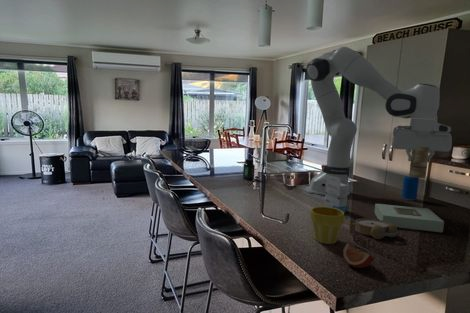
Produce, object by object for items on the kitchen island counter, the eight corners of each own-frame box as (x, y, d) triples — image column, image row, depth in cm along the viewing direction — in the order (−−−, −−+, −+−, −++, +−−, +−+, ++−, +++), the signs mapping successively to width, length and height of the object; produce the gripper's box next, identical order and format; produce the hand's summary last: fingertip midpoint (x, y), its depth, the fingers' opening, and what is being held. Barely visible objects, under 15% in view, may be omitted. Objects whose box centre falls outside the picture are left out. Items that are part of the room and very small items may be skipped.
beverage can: (418, 201, 151) (421, 177, 149) (403, 200, 152) (406, 176, 150) (413, 198, 157) (416, 174, 155) (399, 197, 158) (402, 174, 157)
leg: (412, 177, 121) (416, 147, 120) (409, 175, 126) (412, 145, 124) (425, 178, 120) (429, 147, 119) (421, 176, 125) (425, 146, 123)
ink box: (346, 212, 130) (349, 178, 128) (338, 213, 128) (340, 178, 126) (332, 206, 138) (335, 174, 136) (323, 207, 136) (326, 174, 134)
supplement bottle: (246, 180, 185) (247, 160, 183) (241, 178, 191) (241, 158, 189) (256, 179, 188) (257, 160, 187) (250, 177, 194) (251, 158, 193)
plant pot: (304, 233, 105) (306, 205, 104) (334, 233, 106) (336, 206, 105) (315, 246, 95) (317, 216, 94) (347, 246, 96) (350, 216, 94)
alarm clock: (371, 217, 116) (406, 223, 102) (372, 230, 116) (407, 238, 102) (347, 220, 112) (380, 227, 98) (348, 233, 112) (381, 243, 98)
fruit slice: (337, 260, 87) (338, 243, 86) (355, 256, 89) (357, 240, 89) (358, 275, 79) (360, 256, 78) (378, 270, 82) (380, 253, 81)
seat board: (382, 225, 116) (383, 214, 115) (374, 212, 131) (375, 202, 130) (442, 232, 111) (444, 220, 110) (427, 218, 126) (428, 208, 125)
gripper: (395, 125, 120) (392, 161, 122) (456, 127, 115) (451, 164, 117) (391, 125, 126) (388, 158, 128) (448, 127, 121) (444, 162, 123)
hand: (418, 161), depth 122 cm, fingers closed on leg, 4 cm apart
